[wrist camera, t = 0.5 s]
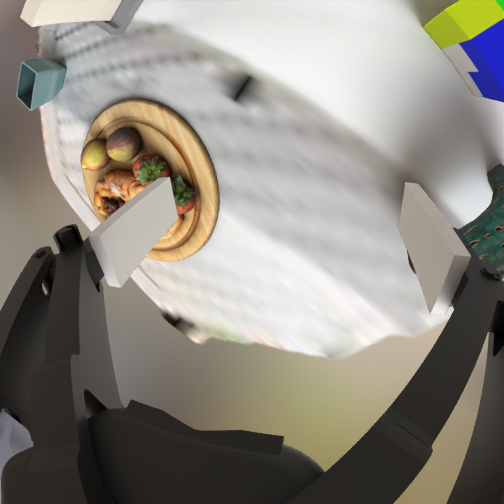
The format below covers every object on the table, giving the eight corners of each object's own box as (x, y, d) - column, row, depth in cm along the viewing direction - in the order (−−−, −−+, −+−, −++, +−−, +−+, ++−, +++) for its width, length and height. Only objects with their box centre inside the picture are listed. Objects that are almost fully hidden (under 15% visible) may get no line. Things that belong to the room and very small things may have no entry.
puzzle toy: (473, 95, 20) (510, 104, 13) (421, 27, 18) (444, 9, 11) (516, 64, 14) (558, 67, 6) (468, -3, 12) (499, -22, 4)
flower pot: (64, 100, 41) (30, 112, 34) (47, 86, 40) (15, 97, 33) (73, 64, 35) (36, 72, 28) (55, 52, 34) (21, 60, 27)
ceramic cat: (505, 150, 21) (595, 228, 6) (520, 190, 23) (593, 283, 8) (396, 220, 34) (409, 337, 19) (417, 253, 35) (431, 372, 20)
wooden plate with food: (150, 272, 61) (130, 296, 55) (71, 164, 51) (44, 180, 44) (260, 219, 43) (242, 249, 37) (147, 60, 33) (109, 63, 26)
